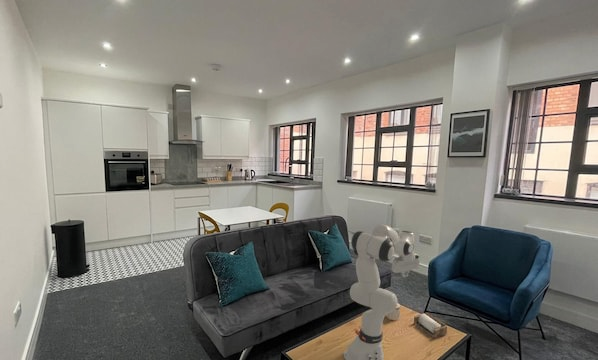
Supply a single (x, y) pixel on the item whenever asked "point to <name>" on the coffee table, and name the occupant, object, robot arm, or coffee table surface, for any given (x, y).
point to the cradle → (437, 332)
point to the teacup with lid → (394, 313)
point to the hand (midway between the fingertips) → (405, 276)
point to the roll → (428, 323)
